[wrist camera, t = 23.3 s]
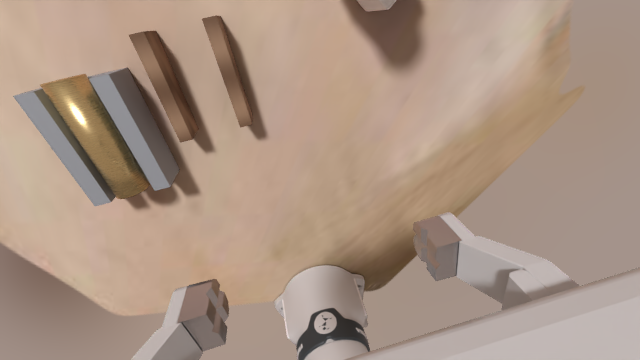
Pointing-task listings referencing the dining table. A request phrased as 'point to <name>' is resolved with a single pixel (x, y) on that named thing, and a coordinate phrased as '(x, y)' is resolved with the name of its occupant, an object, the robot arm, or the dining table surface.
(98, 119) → the axle
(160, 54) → the pair of brown bars
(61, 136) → the cradle
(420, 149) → the dining table surface
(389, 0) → the medicine bottle
